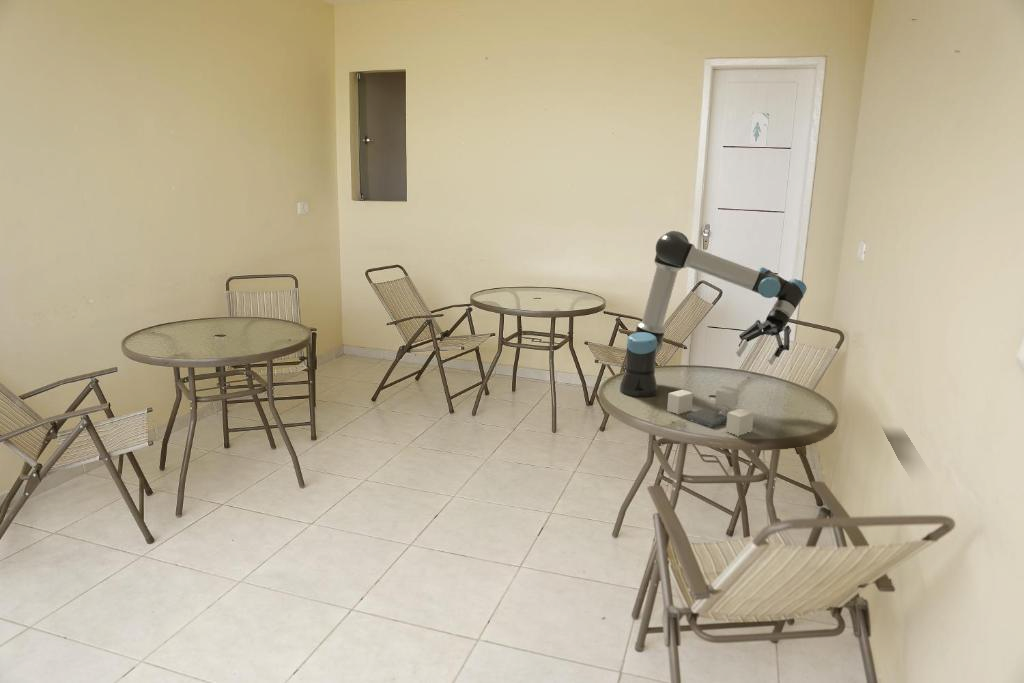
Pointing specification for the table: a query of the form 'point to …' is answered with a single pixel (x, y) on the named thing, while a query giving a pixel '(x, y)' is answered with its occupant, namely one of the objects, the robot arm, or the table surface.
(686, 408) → the mounted modules
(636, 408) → the table surface
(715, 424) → the mount plate
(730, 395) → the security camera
